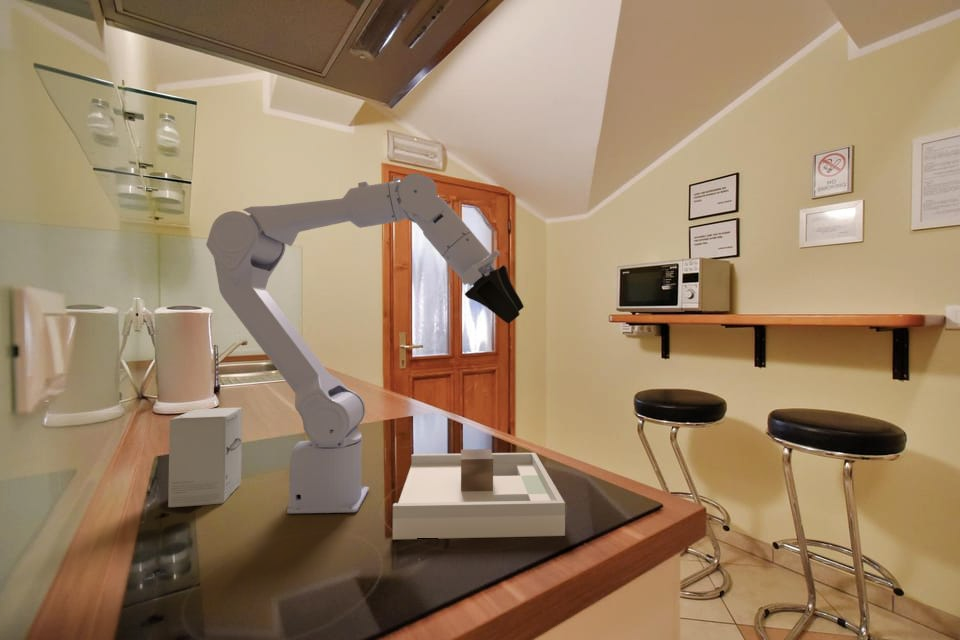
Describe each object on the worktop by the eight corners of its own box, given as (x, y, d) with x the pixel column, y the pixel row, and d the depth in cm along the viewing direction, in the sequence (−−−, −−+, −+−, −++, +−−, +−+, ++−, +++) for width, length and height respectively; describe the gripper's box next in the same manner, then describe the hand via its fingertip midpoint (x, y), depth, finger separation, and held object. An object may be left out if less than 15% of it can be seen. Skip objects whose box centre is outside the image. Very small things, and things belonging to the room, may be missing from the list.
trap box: (392, 539, 50) (392, 506, 50) (411, 477, 70) (412, 454, 70) (565, 535, 51) (565, 502, 51) (535, 476, 71) (535, 452, 71)
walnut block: (461, 491, 58) (461, 459, 58) (461, 479, 62) (461, 449, 62) (493, 490, 58) (493, 458, 58) (490, 479, 63) (490, 449, 63)
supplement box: (224, 504, 59) (225, 416, 59) (166, 508, 58) (167, 418, 58) (242, 484, 67) (243, 406, 67) (191, 488, 65) (192, 408, 65)
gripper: (467, 223, 53) (535, 304, 53) (485, 229, 67) (539, 292, 67) (428, 259, 55) (494, 337, 55) (454, 257, 69) (506, 319, 69)
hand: (516, 314), depth 61 cm, fingers open, 7 cm apart
